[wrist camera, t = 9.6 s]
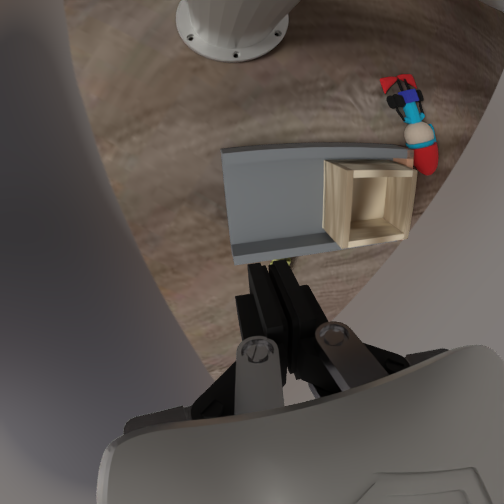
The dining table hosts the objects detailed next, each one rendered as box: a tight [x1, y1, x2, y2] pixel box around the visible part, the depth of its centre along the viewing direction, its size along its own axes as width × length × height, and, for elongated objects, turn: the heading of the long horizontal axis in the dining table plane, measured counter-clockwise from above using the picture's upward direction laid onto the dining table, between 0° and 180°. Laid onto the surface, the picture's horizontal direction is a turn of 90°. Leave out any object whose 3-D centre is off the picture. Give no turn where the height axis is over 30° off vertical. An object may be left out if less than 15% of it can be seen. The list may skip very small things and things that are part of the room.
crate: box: [322, 159, 417, 249], centre depth 31 cm, size 10×9×6 cm
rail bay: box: [221, 142, 414, 265], centre depth 32 cm, size 24×13×4 cm, turn 94°
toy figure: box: [380, 74, 439, 175], centre depth 29 cm, size 8×5×15 cm
